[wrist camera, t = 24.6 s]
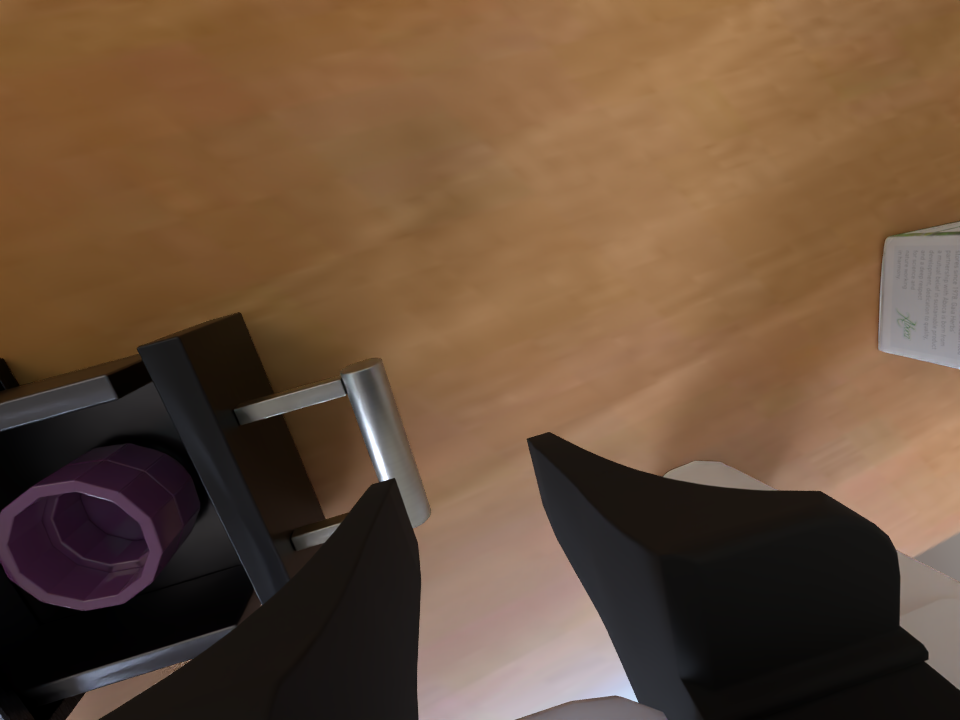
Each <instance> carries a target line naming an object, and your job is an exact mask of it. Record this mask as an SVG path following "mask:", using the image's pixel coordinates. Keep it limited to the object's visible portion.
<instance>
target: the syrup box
mask: <svg viewBox="0 0 960 720" xmlns="http://www.w3.org/2000/svg"><path fill="white" fill-rule="evenodd" d="M878 340H879V345H878V349H879V350H881V351H883V352H886V353H891V354H895V355H900V356H905V357H909V358H913V359H917V360H921V361H927V362H931V363H935V364H939V365H944V366H948V367H951V368H957V369H960V221H957V222H952V223H948V224H944V225H940V226H935V227H930V228H925V229H921V230H916V231H911V232H907V233H902V234H897V235H893V236H889V237H888V238H887V239H886V240H885V244H884V253H883V261H882V270H881V289H880V309H879V338H878Z"/></svg>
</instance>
